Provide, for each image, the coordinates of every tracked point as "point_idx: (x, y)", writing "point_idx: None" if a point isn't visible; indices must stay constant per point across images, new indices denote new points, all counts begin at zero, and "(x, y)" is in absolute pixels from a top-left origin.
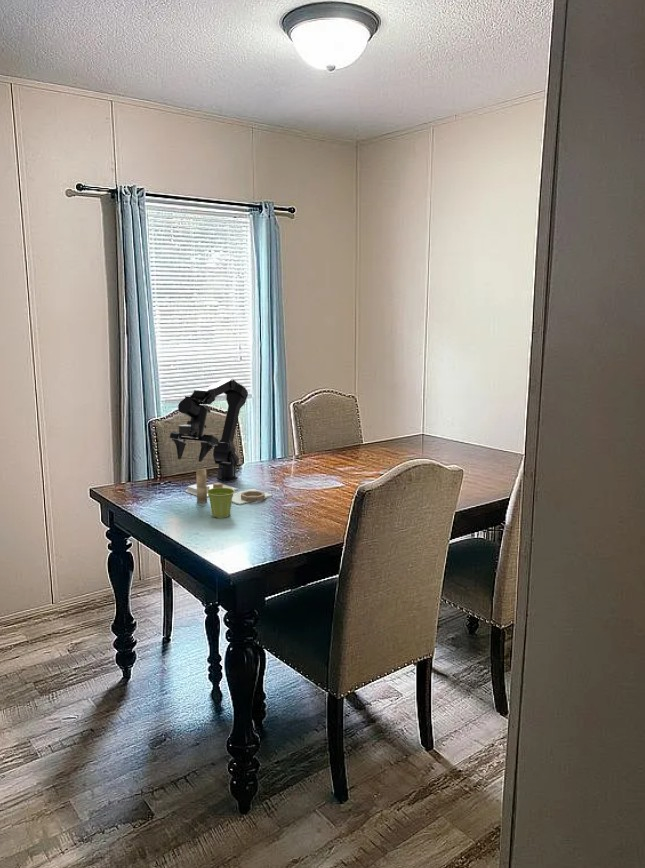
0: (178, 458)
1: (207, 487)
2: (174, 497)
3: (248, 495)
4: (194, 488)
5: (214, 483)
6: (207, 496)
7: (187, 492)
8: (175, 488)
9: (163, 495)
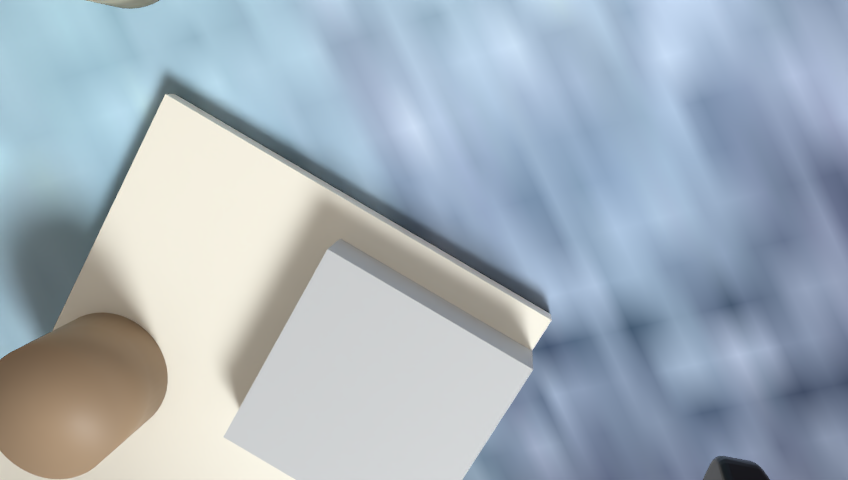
0: (739, 461)
1: (243, 403)
2: (587, 20)
3: None
4: (375, 278)
5: (106, 428)
6: (145, 146)
7: (508, 290)
8: (768, 446)
9: (795, 71)
